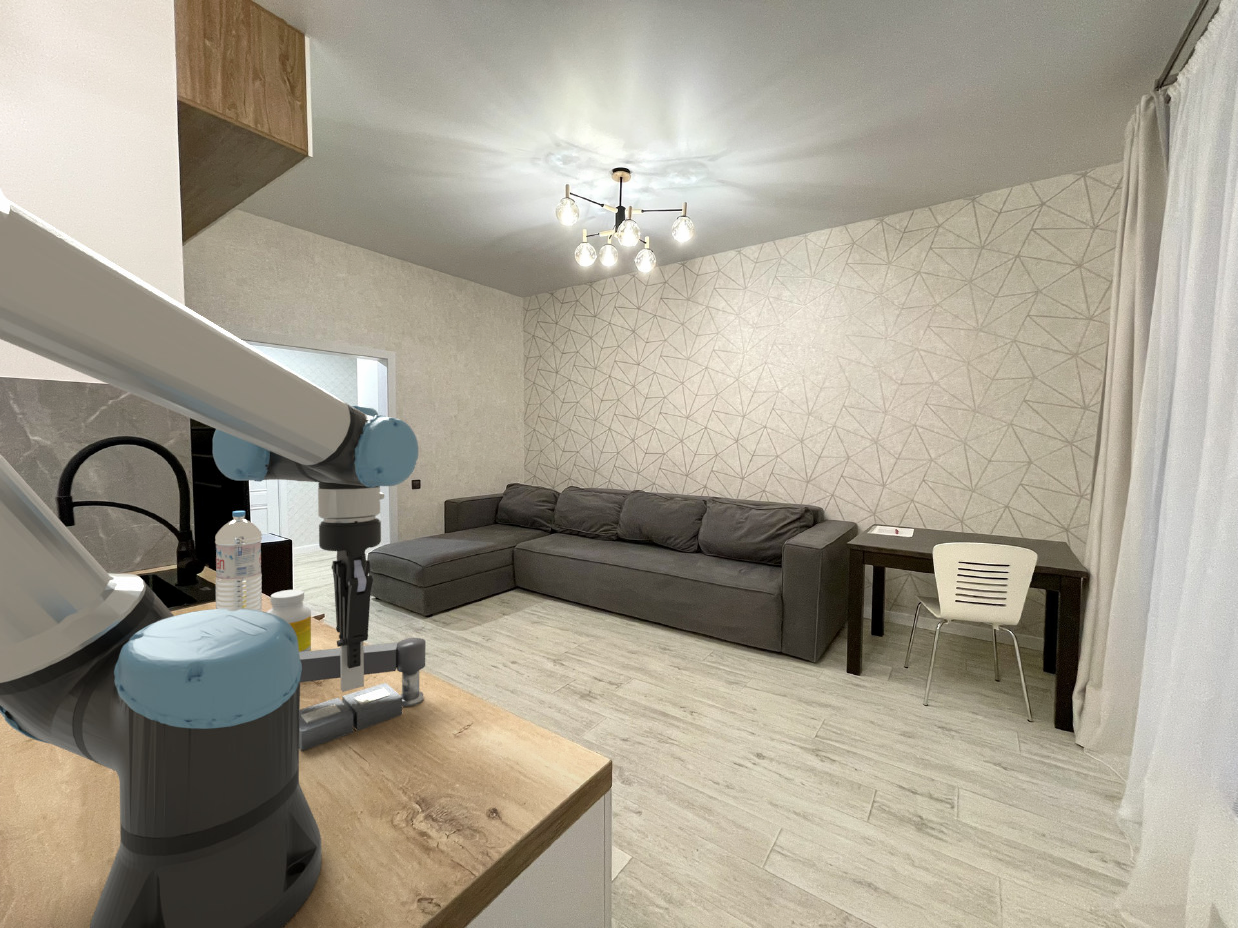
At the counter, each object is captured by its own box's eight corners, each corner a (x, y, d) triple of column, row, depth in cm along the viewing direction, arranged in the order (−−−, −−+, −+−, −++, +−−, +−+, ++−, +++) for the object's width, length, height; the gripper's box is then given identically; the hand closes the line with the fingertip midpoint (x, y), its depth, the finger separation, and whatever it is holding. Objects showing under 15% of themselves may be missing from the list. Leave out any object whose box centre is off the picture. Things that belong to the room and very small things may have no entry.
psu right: (357, 731, 67) (357, 712, 67) (342, 713, 72) (342, 695, 71) (402, 714, 72) (402, 696, 72) (385, 698, 76) (385, 681, 76)
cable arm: (291, 686, 68) (291, 660, 68) (298, 673, 72) (298, 649, 72) (425, 670, 74) (425, 646, 74) (425, 659, 78) (425, 636, 78)
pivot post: (403, 709, 73) (403, 677, 73) (393, 700, 76) (393, 668, 75) (427, 700, 76) (428, 669, 75) (417, 692, 78) (417, 661, 78)
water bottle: (222, 640, 95) (221, 509, 94) (265, 635, 98) (265, 508, 97) (210, 654, 89) (209, 514, 88) (257, 649, 92) (257, 513, 91)
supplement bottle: (320, 661, 88) (320, 588, 87) (291, 679, 81) (291, 600, 81) (284, 658, 88) (284, 586, 88) (253, 676, 82) (253, 598, 81)
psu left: (301, 751, 63) (301, 731, 63) (289, 731, 67) (289, 712, 67) (353, 732, 67) (353, 713, 67) (338, 714, 71) (338, 696, 71)
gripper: (392, 521, 67) (394, 696, 67) (368, 512, 76) (370, 665, 77) (328, 526, 62) (330, 715, 63) (311, 516, 72) (313, 679, 72)
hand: (352, 687), depth 70 cm, fingers closed
